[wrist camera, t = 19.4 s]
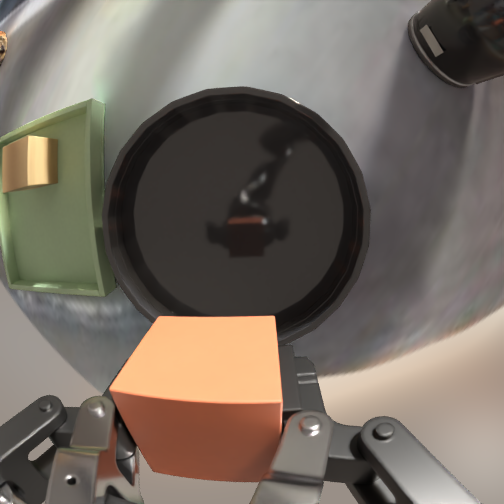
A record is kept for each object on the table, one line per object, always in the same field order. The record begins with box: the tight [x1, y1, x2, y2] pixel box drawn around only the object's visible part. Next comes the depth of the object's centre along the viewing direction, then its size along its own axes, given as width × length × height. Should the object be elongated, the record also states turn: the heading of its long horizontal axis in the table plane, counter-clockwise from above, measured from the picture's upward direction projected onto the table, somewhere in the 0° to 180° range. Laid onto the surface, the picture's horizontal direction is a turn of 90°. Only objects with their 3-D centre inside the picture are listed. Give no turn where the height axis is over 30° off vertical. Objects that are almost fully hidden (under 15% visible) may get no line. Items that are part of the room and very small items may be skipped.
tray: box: [0, 99, 116, 297], centre depth 20 cm, size 15×17×2 cm
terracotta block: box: [109, 316, 283, 482], centre depth 8 cm, size 4×4×4 cm
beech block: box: [2, 136, 58, 193], centre depth 18 cm, size 4×4×4 cm
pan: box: [102, 87, 371, 346], centre depth 20 cm, size 20×20×3 cm
